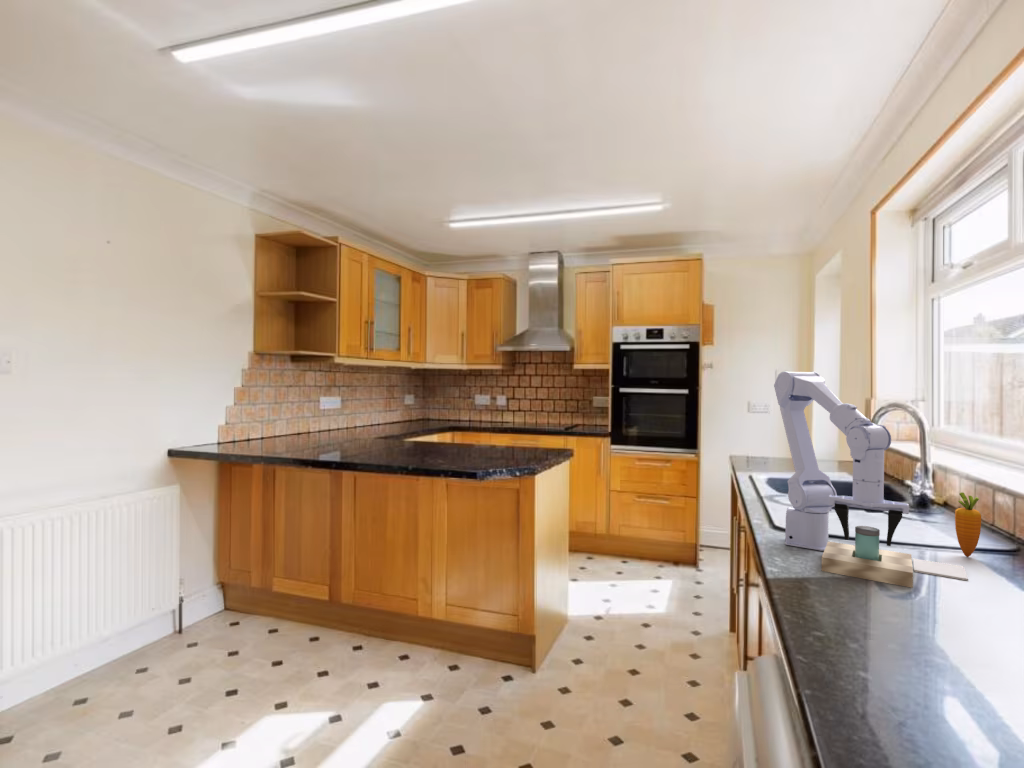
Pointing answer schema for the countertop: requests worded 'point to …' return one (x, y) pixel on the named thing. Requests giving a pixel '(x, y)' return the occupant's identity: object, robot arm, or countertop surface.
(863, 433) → the robot arm
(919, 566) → the mat
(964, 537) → the carrot
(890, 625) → the countertop surface
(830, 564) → the tan board with hole
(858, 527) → the plug
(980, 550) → the countertop surface
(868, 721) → the countertop surface
